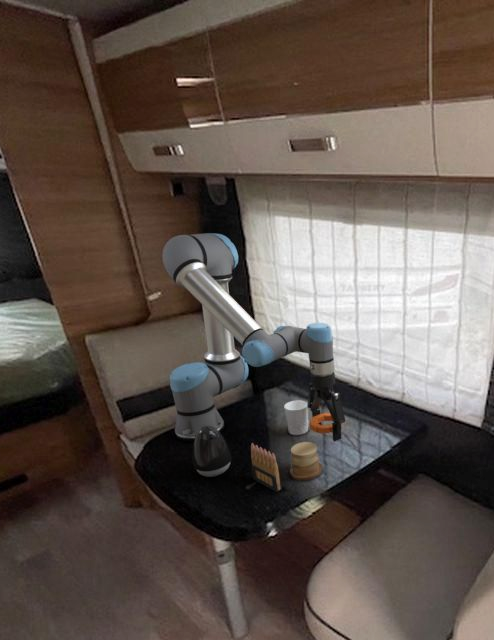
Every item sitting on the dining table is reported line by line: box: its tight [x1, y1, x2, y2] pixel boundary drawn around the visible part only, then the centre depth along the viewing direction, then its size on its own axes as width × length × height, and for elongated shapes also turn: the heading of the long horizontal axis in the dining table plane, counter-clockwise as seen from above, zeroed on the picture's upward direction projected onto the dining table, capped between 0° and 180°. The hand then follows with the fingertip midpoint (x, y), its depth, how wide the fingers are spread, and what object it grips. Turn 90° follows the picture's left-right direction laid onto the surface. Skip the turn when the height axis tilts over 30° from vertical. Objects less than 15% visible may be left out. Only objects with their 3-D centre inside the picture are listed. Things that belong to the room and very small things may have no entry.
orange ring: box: [309, 412, 344, 434], centre depth 139 cm, size 10×10×2 cm
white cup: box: [283, 399, 309, 436], centre depth 145 cm, size 8×8×10 cm
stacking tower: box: [289, 441, 323, 482], centre depth 123 cm, size 9×9×8 cm
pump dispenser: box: [192, 425, 232, 478], centre depth 121 cm, size 10×10×15 cm
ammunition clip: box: [250, 442, 283, 493], centre depth 117 cm, size 11×2×12 cm, turn 56°
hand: (327, 433), depth 140 cm, fingers closed on orange ring, 10 cm apart
